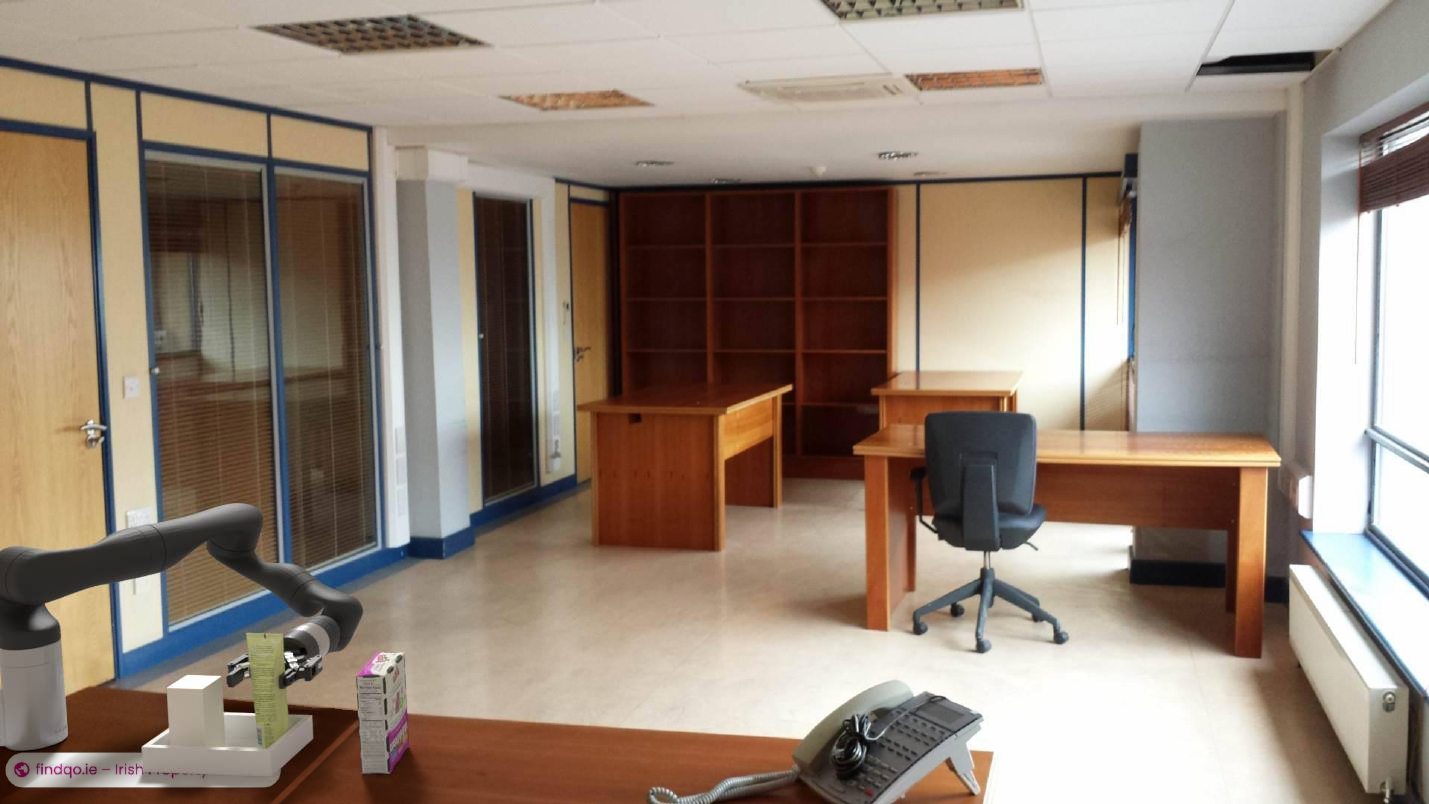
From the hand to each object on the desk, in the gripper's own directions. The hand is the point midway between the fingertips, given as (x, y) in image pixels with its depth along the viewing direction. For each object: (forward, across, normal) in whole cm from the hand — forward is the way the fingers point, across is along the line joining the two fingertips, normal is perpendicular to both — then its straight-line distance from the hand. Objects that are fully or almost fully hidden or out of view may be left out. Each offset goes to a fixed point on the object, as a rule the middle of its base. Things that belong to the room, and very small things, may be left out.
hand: (254, 682), depth 189 cm
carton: (-1, +11, -12) cm, 16 cm away
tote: (-1, +5, -14) cm, 14 cm away
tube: (-2, -2, -12) cm, 13 cm away
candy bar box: (-3, -20, -14) cm, 24 cm away
